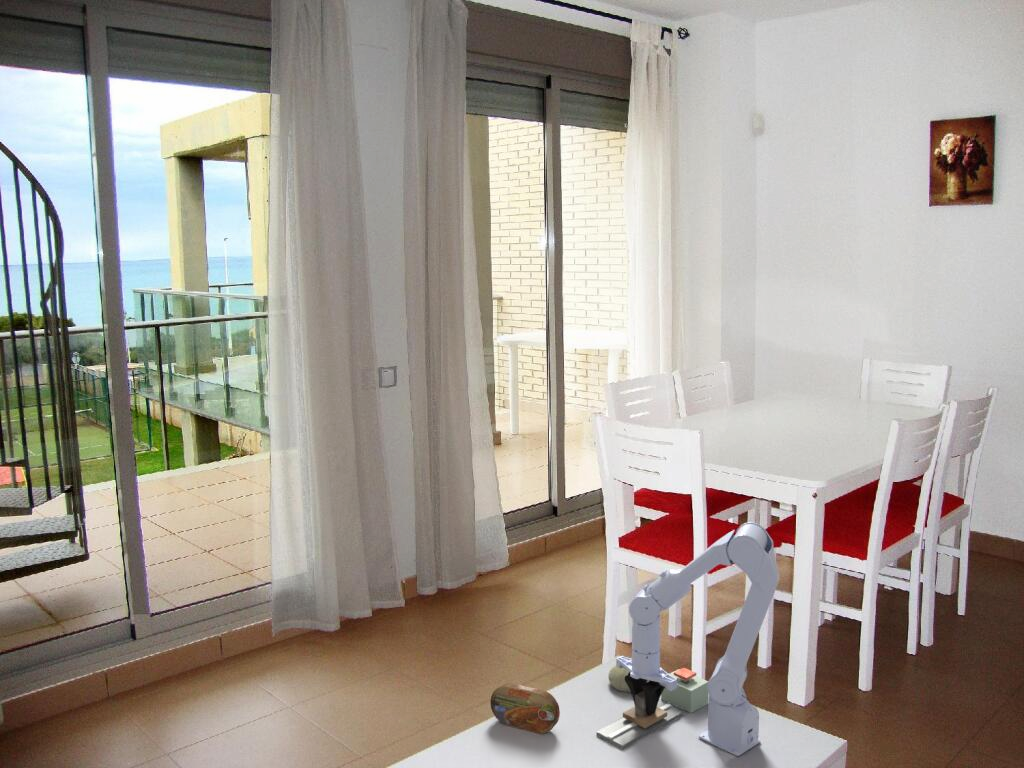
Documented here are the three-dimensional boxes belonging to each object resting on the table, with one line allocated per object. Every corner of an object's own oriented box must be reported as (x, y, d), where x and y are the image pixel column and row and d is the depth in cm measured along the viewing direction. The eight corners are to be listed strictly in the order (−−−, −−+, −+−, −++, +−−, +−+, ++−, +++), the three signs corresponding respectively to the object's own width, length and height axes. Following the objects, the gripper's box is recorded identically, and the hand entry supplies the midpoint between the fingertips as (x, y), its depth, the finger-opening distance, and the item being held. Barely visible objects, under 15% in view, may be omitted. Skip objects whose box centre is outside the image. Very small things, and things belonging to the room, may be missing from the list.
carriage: (667, 716, 188) (667, 693, 187) (645, 728, 183) (645, 705, 183) (644, 705, 192) (645, 683, 192) (622, 717, 188) (622, 694, 187)
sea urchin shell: (598, 671, 207) (621, 644, 208) (621, 691, 209) (643, 664, 210) (615, 690, 198) (639, 662, 199) (638, 710, 201) (661, 682, 202)
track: (683, 715, 191) (683, 710, 191) (622, 749, 178) (622, 743, 178) (657, 703, 196) (657, 698, 196) (596, 735, 184) (596, 729, 183)
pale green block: (708, 703, 196) (708, 681, 195) (690, 713, 192) (691, 690, 191) (678, 690, 202) (678, 668, 201) (661, 699, 198) (661, 677, 197)
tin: (489, 721, 190) (489, 683, 188) (497, 714, 193) (496, 677, 191) (555, 738, 183) (555, 699, 182) (561, 731, 186) (561, 692, 184)
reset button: (696, 682, 196) (696, 672, 196) (686, 687, 194) (686, 677, 193) (683, 676, 198) (683, 667, 198) (673, 682, 196) (673, 672, 196)
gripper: (606, 643, 188) (606, 704, 191) (661, 666, 178) (660, 731, 180) (628, 633, 193) (628, 693, 195) (684, 655, 182) (682, 718, 184)
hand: (645, 710), depth 188 cm, fingers closed on carriage, 2 cm apart
